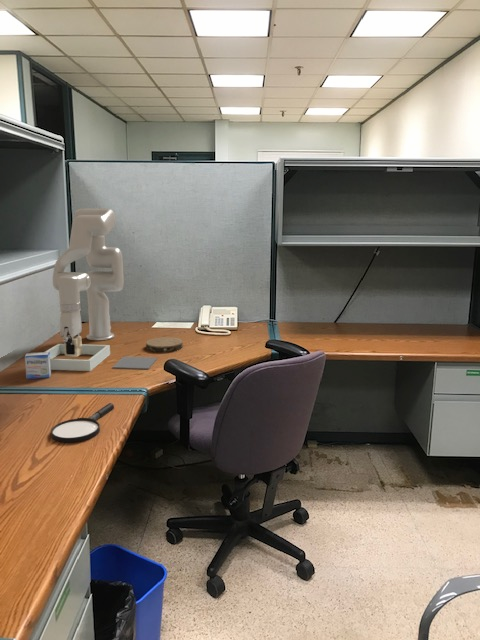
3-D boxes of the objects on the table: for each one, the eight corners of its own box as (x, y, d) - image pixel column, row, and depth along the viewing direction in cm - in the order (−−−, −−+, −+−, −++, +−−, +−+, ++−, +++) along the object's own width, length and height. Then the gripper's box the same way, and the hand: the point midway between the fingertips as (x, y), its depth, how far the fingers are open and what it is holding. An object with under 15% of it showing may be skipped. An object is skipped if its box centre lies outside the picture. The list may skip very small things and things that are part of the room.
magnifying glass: (129, 412, 147) (129, 405, 147) (82, 447, 125) (81, 439, 124) (93, 407, 151) (93, 400, 150) (41, 441, 128) (40, 433, 128)
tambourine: (187, 345, 221) (187, 338, 221) (174, 354, 206) (173, 347, 206) (155, 342, 225) (155, 336, 225) (139, 351, 210) (139, 344, 210)
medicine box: (26, 379, 173) (24, 356, 171) (28, 375, 178) (26, 352, 176) (50, 377, 175) (48, 354, 174) (51, 373, 180) (49, 351, 178)
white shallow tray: (59, 352, 206) (58, 343, 205) (110, 354, 204) (109, 345, 204) (33, 369, 185) (32, 358, 184) (90, 371, 183) (89, 360, 182)
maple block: (70, 352, 197) (69, 335, 195) (82, 353, 197) (81, 336, 195) (65, 356, 192) (63, 339, 191) (77, 356, 192) (76, 339, 190)
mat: (123, 357, 200) (123, 356, 200) (157, 358, 199) (157, 357, 199) (112, 368, 186) (112, 367, 186) (148, 369, 185) (148, 368, 185)
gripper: (70, 302, 199) (73, 345, 203) (51, 311, 182) (55, 358, 186) (88, 303, 198) (90, 346, 202) (70, 312, 181) (74, 358, 186)
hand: (73, 351), depth 194 cm, fingers closed on maple block, 5 cm apart
